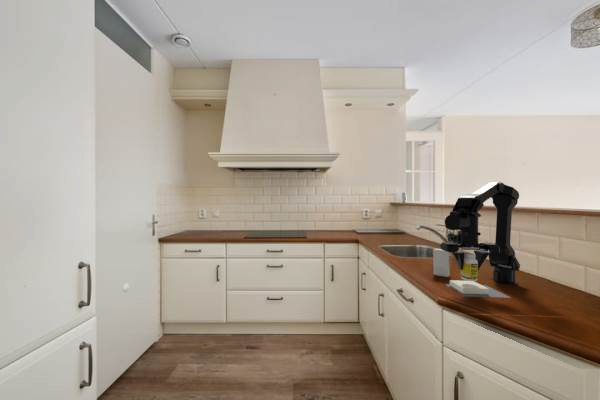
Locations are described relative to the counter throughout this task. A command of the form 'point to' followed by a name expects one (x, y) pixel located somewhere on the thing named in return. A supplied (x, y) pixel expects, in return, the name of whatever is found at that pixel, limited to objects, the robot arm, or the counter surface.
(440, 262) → the skincare box
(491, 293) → the mat
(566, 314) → the counter surface
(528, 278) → the counter surface
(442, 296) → the counter surface
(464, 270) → the supplement bottle
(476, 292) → the tile
